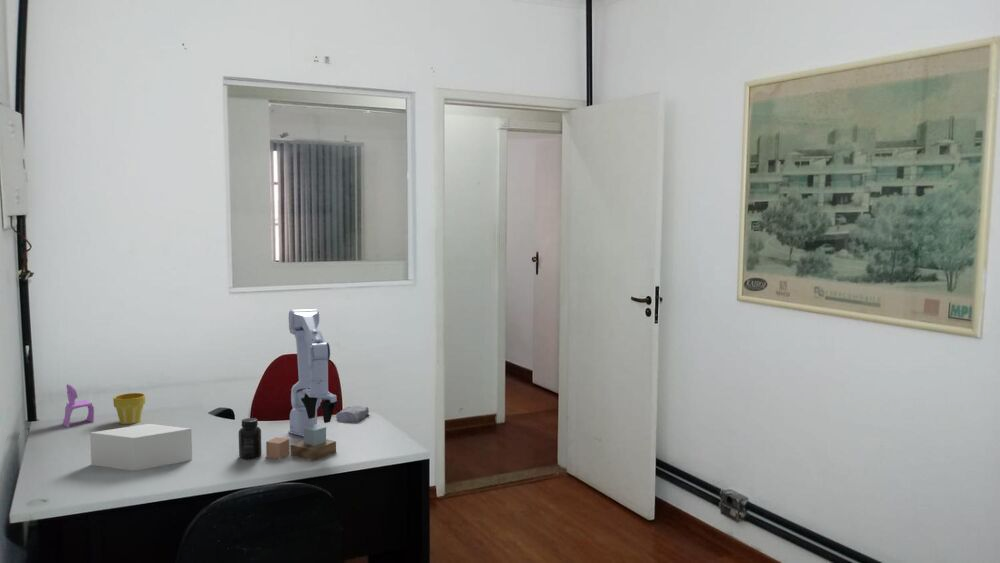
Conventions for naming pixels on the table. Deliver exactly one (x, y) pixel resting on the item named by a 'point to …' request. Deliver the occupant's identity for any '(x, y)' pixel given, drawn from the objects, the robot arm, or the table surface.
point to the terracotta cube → (277, 447)
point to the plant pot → (129, 407)
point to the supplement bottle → (249, 439)
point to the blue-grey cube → (314, 435)
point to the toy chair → (76, 406)
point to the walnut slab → (313, 450)
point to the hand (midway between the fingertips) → (319, 420)
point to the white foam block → (141, 446)
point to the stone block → (352, 414)
